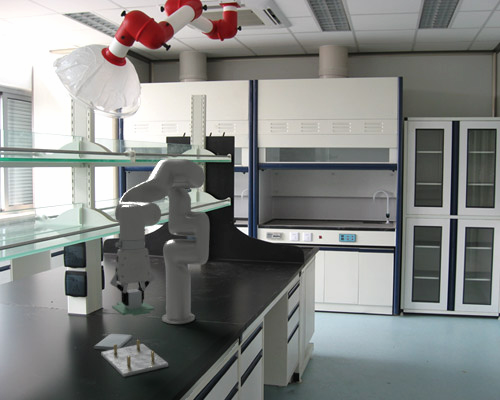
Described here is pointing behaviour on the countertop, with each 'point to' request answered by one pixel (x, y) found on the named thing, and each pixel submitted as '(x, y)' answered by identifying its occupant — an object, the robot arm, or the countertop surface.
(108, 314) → the countertop surface
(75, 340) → the countertop surface
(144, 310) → the board
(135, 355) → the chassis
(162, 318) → the robot arm
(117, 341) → the hard drive
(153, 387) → the countertop surface
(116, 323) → the countertop surface
